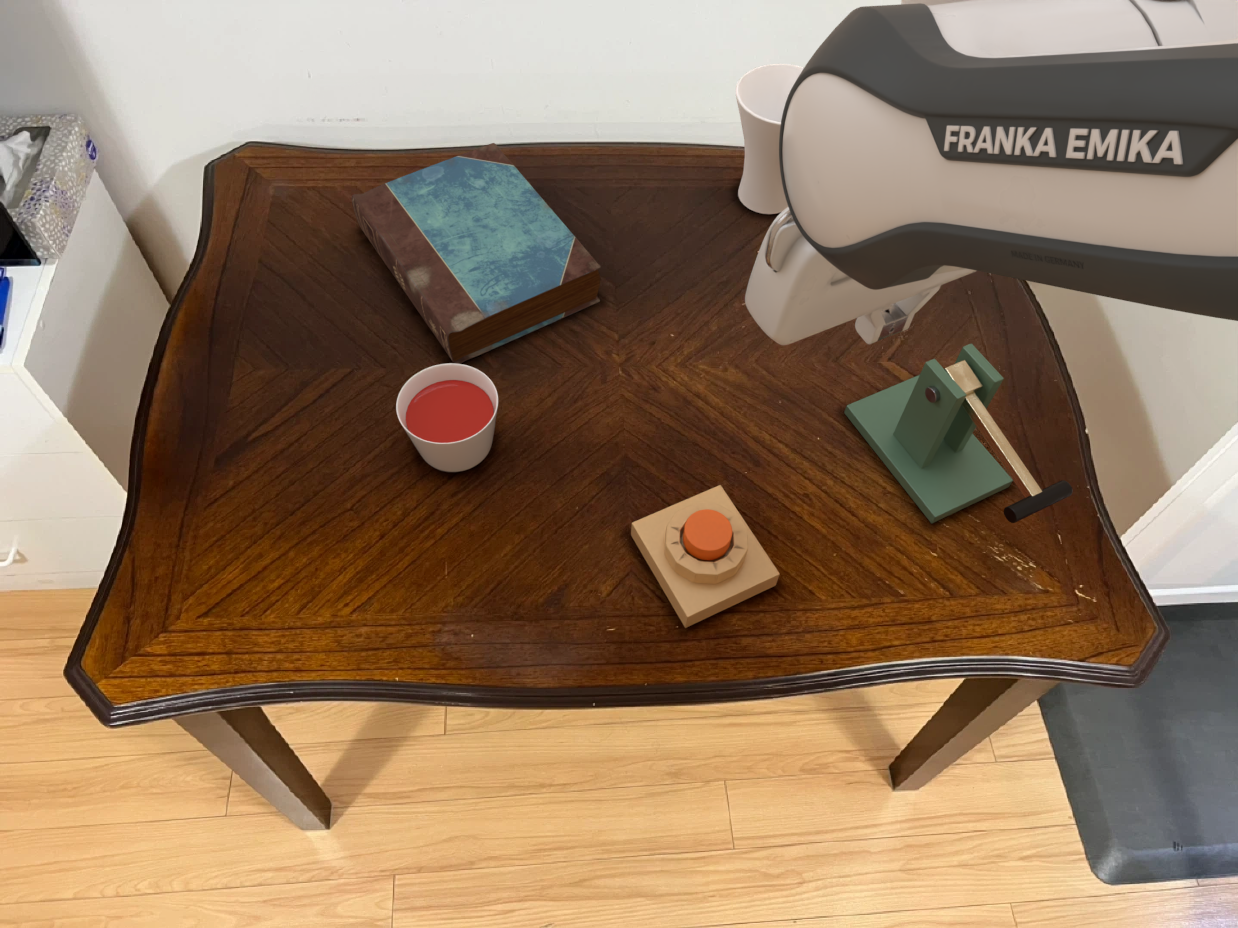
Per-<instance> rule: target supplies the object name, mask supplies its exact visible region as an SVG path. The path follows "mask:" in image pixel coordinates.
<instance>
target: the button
mask: <svg viewBox="0 0 1238 928" xmlns="http://www.w3.org/2000/svg"><path fill="white" fill-rule="evenodd" d="M731 538H732V526H731V524H730V522H729V520H728V519H727V518H726V517H725V516H724V515H723V514H721V513H720V512H717V511H715V510H709V509H705V510H699V511H697V512H695V513H693V514H692V515H691V516H689V518H688V519H687V521H686V523H685V527H684V533H683V543H684V546H685V548H686V549H687V551H688V552H689V553H690V554H691V555H692V556H694V557H696V558H698V559H701V560H715V559H718V558H720V557H721V556H723V555H724V554H725V553H726V552H727V550H728V548H729V546H730V542H731Z"/></svg>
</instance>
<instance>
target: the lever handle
mask: <svg viewBox="0 0 1238 928" xmlns="http://www.w3.org/2000/svg"><path fill="white" fill-rule="evenodd" d="M944 370H945V371H946V372H947V373H948V374H949V375H950V376H951V378H952V379H953V380H954V381H955V382H956V383H957V384H958V385H959V387H960V388H961V389H962V390H963V391H964V392H965V393H966V394H967V395H966V397H965V399H964V401H963V403H962V406H963V407H964V409H965V410H966V412H967V413H968V415H969V416H970V418H971V419H972V420H973V422H974V423H975V425H976V428H977V430H978V431H979V433H980V434H981V436H982V437H983V439H984V440H985V442H986V443H987V444H988V445H989V448H990V449H991V451H993V453H994V455H995V456H996V457H997V459H998V461H999V462H1000V464H1001V466H1002V467H1003V469H1004V470H1005V471H1006V473H1007V474H1008V475H1009V476H1010V477H1011V478H1012V480H1013V481H1012V482H1013V483H1014V484H1015V485H1016V487H1017V489H1018V490H1019V492H1020V493H1021V494H1022V496H1023V498H1022V499H1019V500H1018V501H1016V502H1013V503H1011V504H1009V505H1007V506H1005V507H1004V509H1003V515H1004V517H1005V519H1006V520H1007V522H1009V523H1010V524H1015V523H1018V522H1020V521H1021V520H1024V519H1026V518H1028V517H1030V516H1032V515H1035V514H1036V513H1038V512H1040V511H1042V510H1044V509H1046V508H1048V507H1050V506H1052V505H1054V504H1056V503H1058V502H1060V501H1062V500H1065V499H1067V498H1069V497H1071V496H1073V495H1072V494H1073V487H1072V485H1071V484H1070V483H1069V482H1068V481H1067V480H1065V479H1064V480H1063V479H1062V480H1059V481H1057V482H1055V483H1053V484H1050V485H1048V486H1047V487H1044V488H1041V487H1040V485H1039V484H1038V483H1037V481H1036V480H1035V478H1034V477H1033V475H1032V474H1031V473H1030V471H1029V469H1028V468H1027V467H1026V465H1025V463H1024V462H1023V461H1022V460H1021V458H1020V457H1019V455H1018V453H1017V452H1016V451H1015V449H1014V448H1013V446H1012V445H1011V444H1010V442H1009V440H1008V439H1007V437H1006V435H1004V433H1003V432H1002V430H1001V428H1000V427H999V426H998V424H997V423H996V421H995V420H994V418H993V417H992V415H991V414H990V412H989V411H988V410H987V409H986V408H985V407H984V405H983V404H982V402H981V401H980V399H979V398H978V397H977V395H976V394H975V393H976V392H977V391H978V390H979V389H980V388H981V387H982V386H983V385H982V384H981V382H980V381H979V379H978V378H977V376H976V375H975V374H974V372H973V371H972V369H971V368H970V366H969V365H968V363H967V362H966V361H965V360H963V361H961V362H958V363H956V364H955V363H953V364H951V365H949V366H946V367H945V368H944Z"/></svg>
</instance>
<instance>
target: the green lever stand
mask: <svg viewBox="0 0 1238 928" xmlns="http://www.w3.org/2000/svg"><path fill="white" fill-rule="evenodd" d="M963 360H965V361H966V362H967V363H968V365H969V366H970V368H971V369H972V371H973V372H974V374H975V375H976V376H977V378H978V379H979V381H980V382H981V384H982V385H983V386H982V387H981V388H980V389H979V390H978V391H977V392H976V393H975V394H976V395H977V397H978V398H979V399H980V401H981V402H982V404H983V405H984V407H985V408H986V410H987V409H988V407H989V405H990V404H991V402H992V400H993V399H994V397H995V395H996V393H997V392H998V390H999V388H1000V386H1001V385H1002V382H1003V381H1004V379H1005V377H1003V376H1002V374H1000V373H999V371H998V370H997V369H996V368H995V367H994V366H993V365H992V364H991V363H990V362H989V360H987V358H986V357H985V356H984V355H983V354H982V353H981V352H980V351H979V350H978V349H977V347H976V346H975V345H974V344H973V343H969V344H966V345H963V346H962V348H961V350H960V351H959V354H958V356H957V358H956V360H955V362H954V364H956V363H958V362H961V361H963ZM944 369H945V368H944V367H943V366H942V365H941V364H940V363H939V362H938V361H937V359H936V358H932V359H930V360H928V361H925V363H924V365H923V367H922V368H921V371H920V373H919V374H918V375H916V376H913V377H910V378H908V379H907V380H904V381H902V382H899V383H897V384H895V385H891V386H890V387H887V388H885V389H883V390H879V391H878V392H874V393H873V394H870V395H869V396H865V397H864V398H861V399H859V400H857V401H854V402H852V403H849V404H847V405H846V406H845V409H844V411H843V413H844V415H845V416H846V417H847V419H848V420H849V421H850V423H852V426H854V427H855V429H856V430H857V431H858V432H859V434H860V435H861V436H862V438H863V439H864V440H865V441H866V443H867V444H868V445H869V446H870V448H871V449H872V451H873V452H874V453H875V454H876V455H877V457H878V458H879V459H880V460H881V462H882V463H883V464H884V466H885V467H886V468H887V469H888V470H889V472H890V473H891V474H892V476H893V477H894V478H895V480H896V481H897V482H898V483H899V484H900V486H901V487H902V488H903V489H904V491H905V492H906V493H907V494H908V496H909V497H910V499H911V500H912V501H913V502H914V503H915V505H916V506H917V507H918V509H919V510H920V511H921V512H922V513H923V515H924V516H925V518H926V519H927V520H928V522H930V524H934V523H936V522H938V521H940V520H942V519H945V518H947V517H948V516H951V515H953V514H955V513H957V512H959V511H961V510H964V509H965V508H968V507H970V506H972V505H974V504H977V503H978V502H981V501H982V500H985V499H987V498H989V497H991V496H993V495H995V494H997V493H1000V492H1002V491H1003V490H1006V489H1008V488H1009V487H1010V486H1011V485H1012V483H1013V482H1014V481H1013V480H1012V478H1011V477H1010V475H1009V474H1008V472H1007V471H1006V469H1005V468H1004V467H1003V466H1002V465H1001V463H999V462H998V461H997V460H996V459H995V457H994V456H993V455H992V453H990V452H989V451H988V449H987V448H986V447H985V446H984V445H983V443H982V442H981V441H980V440H979V439H978V438H977V437H976V436H975V435H974V432H975V430H976V428H977V426H976V425H975V423H974V422H973V420H972V419H971V418H970V416H969V415H968V413H967V412H966V410H965V409H964V407H963V406H962V403H963V401H964V399H965V397H966V395H967V394H966V393H965V392H964V391H963V390H962V389H961V388H960V387H959V385H958V384H957V383H956V382H955V381H954V380H953V379H952V378H951V376H950V375H949V374H948V373H947V372H946V371H945V370H944Z"/></svg>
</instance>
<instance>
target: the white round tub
mask: <svg viewBox="0 0 1238 928" xmlns="http://www.w3.org/2000/svg"><path fill="white" fill-rule="evenodd" d="M498 409H499V393H498V391H497V387H496V386H495V384H494V382H493V381H492V379H490V378H489V376H488V375H486V374H485V373H484V372H483V371H481V370H479V369H478V368H476V367H473V366H470V365H467V364H462V363H461V364H455V363H454V362H449V363H440V364H439V363H438V364H436V365H432V366H429V367H426V368H424V369H422V370H420V371H418V372H417V373H415V374H414V375H412V376H411V377H410V378H409V379H408V380H406V382H405V383H404V384H403V385H402V387H401V389H400V391H399V392H398V395H397V397H396V404H395V411H396V415H397V420H398V421H399V423H400V426H402V428H403V430H404V432H405V433H406V435H407V437H408V438H409V439H410V441H411V443H412V444H413V446H414V447H415V449H416V450H417V452H418V453H419V455H420V456H421V458H422V459H423V460H424V462H425V463H427V464H428V465H429V466H431V467H432V468H434V469H436V470H438V471H441V472H446V473H459V472H464V471H467V470H470V469H472V468H474V467H476V466H477V465H479V464H480V463H482V462H483V460H485V458H486V457H487V456H488V455H489V453H490V451H491V449H492V444H493V441H494V435H495V430H496V429H495V428H496V423H497V422H496V421H497V415H498Z"/></svg>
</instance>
